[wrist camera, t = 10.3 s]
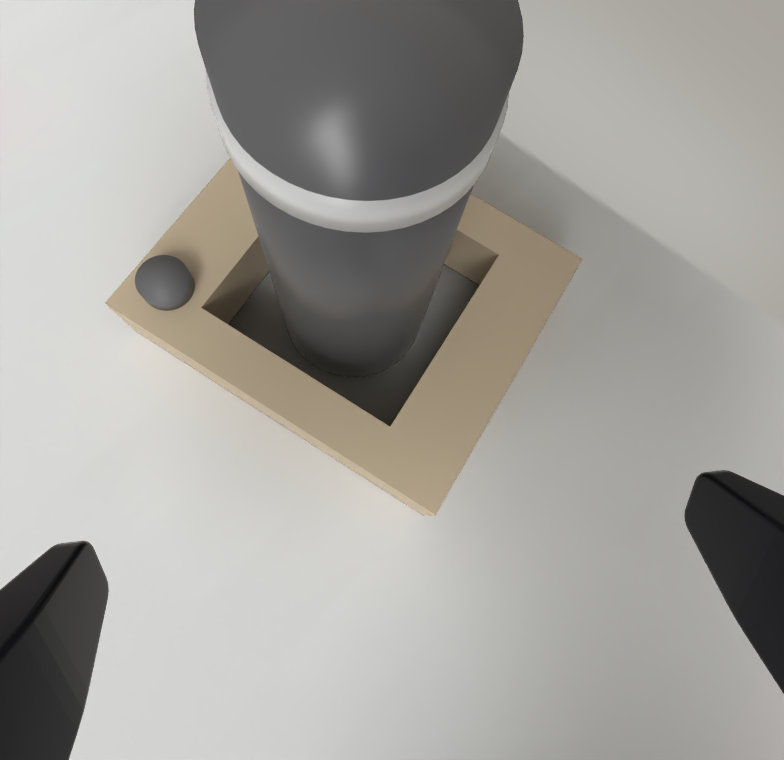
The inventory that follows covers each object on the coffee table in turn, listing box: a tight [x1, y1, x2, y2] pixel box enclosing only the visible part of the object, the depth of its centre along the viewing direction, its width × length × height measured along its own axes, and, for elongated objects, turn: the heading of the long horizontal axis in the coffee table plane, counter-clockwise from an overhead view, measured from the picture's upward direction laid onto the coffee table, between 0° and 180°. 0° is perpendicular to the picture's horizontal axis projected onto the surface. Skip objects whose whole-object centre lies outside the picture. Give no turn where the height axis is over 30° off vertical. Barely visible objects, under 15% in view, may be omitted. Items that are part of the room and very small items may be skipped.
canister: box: [194, 0, 523, 377], centre depth 14 cm, size 5×5×12 cm
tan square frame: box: [105, 158, 582, 516], centre depth 18 cm, size 12×10×3 cm
